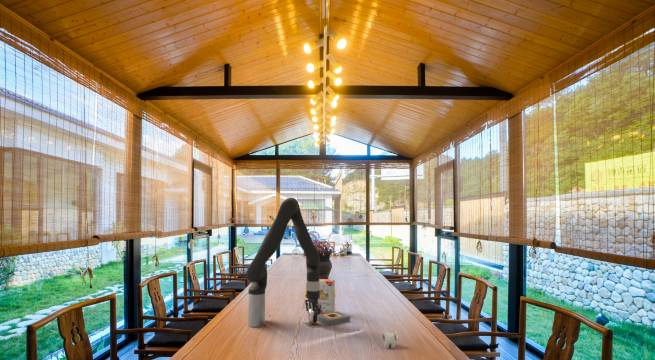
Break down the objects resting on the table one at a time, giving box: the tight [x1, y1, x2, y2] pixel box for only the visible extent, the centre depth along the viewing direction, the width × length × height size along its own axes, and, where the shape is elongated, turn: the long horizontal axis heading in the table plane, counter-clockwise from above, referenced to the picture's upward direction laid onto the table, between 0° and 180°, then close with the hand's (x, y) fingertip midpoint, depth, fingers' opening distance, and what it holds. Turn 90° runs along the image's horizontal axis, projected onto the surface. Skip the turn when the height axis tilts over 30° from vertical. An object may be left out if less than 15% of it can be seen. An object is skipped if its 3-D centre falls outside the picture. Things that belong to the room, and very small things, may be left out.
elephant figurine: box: [381, 330, 399, 349], centre depth 175 cm, size 8×10×7 cm
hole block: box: [317, 310, 351, 326], centre depth 209 cm, size 12×15×4 cm
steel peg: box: [308, 308, 318, 325], centre depth 202 cm, size 4×4×8 cm
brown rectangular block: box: [302, 321, 324, 329], centre depth 202 cm, size 10×7×2 cm
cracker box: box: [318, 278, 336, 314], centre depth 226 cm, size 14×6×21 cm, turn 73°
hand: (312, 320), depth 202 cm, fingers closed on steel peg, 4 cm apart
